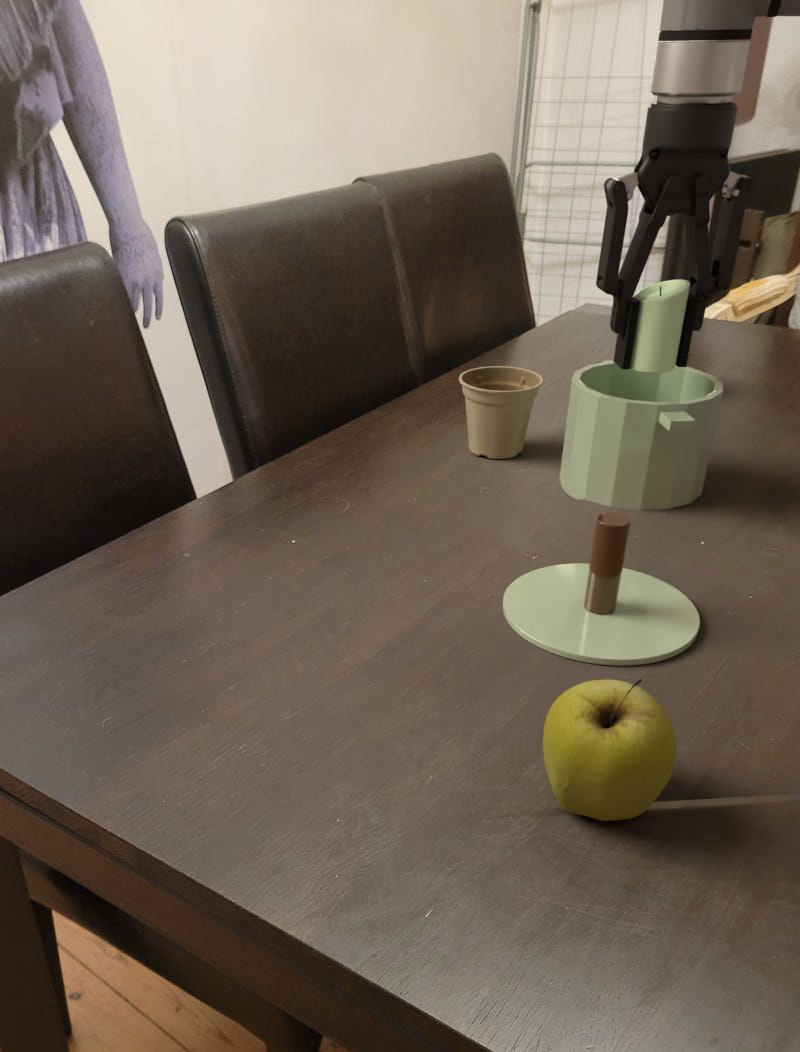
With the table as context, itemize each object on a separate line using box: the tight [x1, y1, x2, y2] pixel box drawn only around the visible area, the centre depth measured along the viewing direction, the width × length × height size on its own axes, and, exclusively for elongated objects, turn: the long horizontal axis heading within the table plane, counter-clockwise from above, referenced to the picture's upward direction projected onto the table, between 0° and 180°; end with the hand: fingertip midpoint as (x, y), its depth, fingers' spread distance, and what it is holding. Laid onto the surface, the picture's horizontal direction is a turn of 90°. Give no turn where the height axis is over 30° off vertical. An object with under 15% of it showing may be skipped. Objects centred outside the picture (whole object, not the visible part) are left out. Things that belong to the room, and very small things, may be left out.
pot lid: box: [501, 512, 701, 667], centre depth 77 cm, size 16×16×9 cm
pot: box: [559, 359, 724, 511], centre depth 100 cm, size 15×20×12 cm
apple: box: [542, 678, 677, 822], centre depth 58 cm, size 8×8×10 cm
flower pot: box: [458, 365, 544, 460], centre depth 111 cm, size 9×9×9 cm
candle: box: [630, 278, 690, 374], centre depth 94 cm, size 5×5×8 cm
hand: (649, 363), depth 96 cm, fingers closed on candle, 5 cm apart
